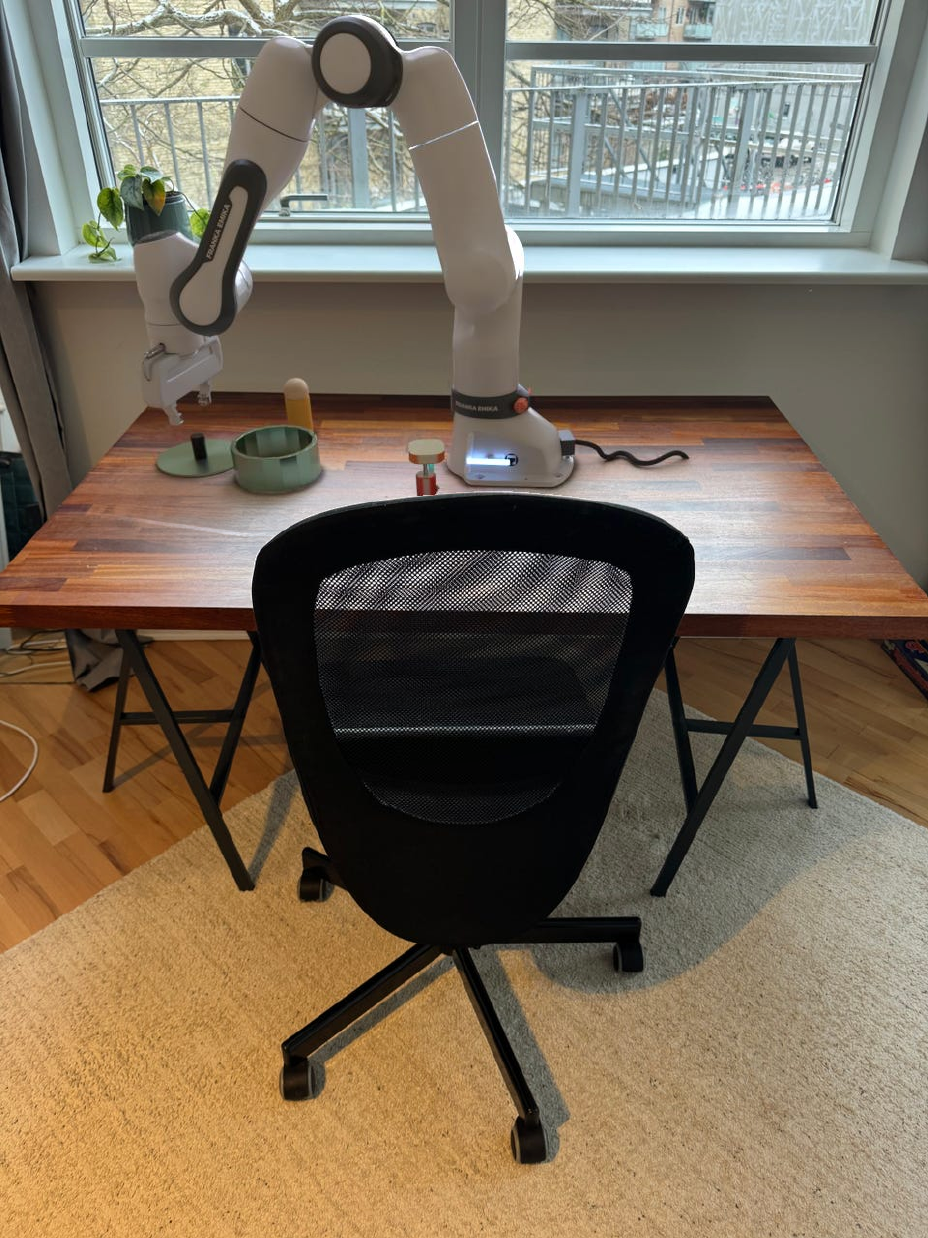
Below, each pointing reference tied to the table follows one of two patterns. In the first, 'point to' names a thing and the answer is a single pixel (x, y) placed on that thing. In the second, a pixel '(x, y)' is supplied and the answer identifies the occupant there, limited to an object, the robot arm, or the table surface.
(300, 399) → the toy
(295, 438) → the pot
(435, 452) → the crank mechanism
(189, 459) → the lid
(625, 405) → the table surface
